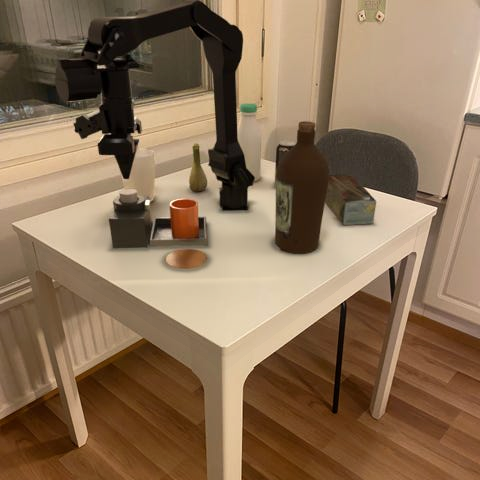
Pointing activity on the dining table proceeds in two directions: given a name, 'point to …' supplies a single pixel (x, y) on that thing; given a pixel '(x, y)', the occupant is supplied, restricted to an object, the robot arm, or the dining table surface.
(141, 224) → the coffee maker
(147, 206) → the grey small block
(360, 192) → the beverage carton
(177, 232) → the orange cup
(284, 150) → the beverage can
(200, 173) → the green gourd vase
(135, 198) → the button
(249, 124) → the milk bottle
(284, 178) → the olive oil
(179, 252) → the cork coaster
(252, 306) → the dining table surface
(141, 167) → the cup
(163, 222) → the drip tray
